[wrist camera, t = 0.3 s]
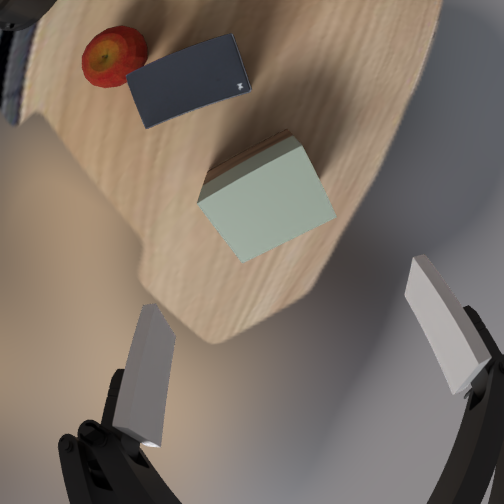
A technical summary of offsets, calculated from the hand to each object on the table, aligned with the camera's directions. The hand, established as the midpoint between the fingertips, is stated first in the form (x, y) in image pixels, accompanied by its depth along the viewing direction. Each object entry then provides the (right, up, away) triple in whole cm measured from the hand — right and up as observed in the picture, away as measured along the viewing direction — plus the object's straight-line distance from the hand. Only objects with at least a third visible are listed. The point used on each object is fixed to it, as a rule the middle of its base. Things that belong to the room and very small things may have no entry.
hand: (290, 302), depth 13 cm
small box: (-8, +23, +15) cm, 29 cm away
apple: (-17, +27, +13) cm, 34 cm away
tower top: (0, +10, +19) cm, 22 cm away
